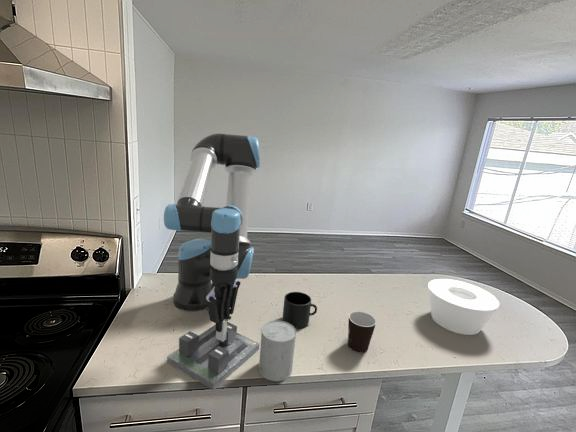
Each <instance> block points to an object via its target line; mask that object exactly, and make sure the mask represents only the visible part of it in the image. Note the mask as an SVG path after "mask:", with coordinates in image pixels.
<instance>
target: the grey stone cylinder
mask: <svg viewBox="0 0 576 432" xmlns="http://www.w3.org/2000/svg"><path fill="white" fill-rule="evenodd" d="M296 329H297V328H295V327H294V326H293V325H291V324H289V323H287V322H284V321H283V320H271V321H268V322H265V324H263V326H262V327H261V335H260V337H261V338H260V347H259V361H258V362H259V364H258V371H259V374H260V375H261V376H262V377H263V378H264V379H266V380H268V381H272V382H281V381H285V380H286V379H288V378H289V377H290V376H291V375H292V373H293V364H294V356H295V355H294V354H295V347H296V337H297V330H296Z"/></svg>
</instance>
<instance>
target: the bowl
mask: <svg viewBox="0 0 576 432" xmlns="http://www.w3.org/2000/svg"><path fill="white" fill-rule="evenodd" d="M427 286H428V296H429V305H430V307H429V308H430V315H431V318H432V320H433V322H435V323H436V324H438V325H439V326H440V327H441V328H444V329H445V330H448V331H450V332H452V333H455V334H460V335H466V336H471V335H474V336H475V335H478V334H479V333H480V332H481V330H482V329H483V328H484V327H485V325H486V324H487V323H488V322H489V320H490V319H491V317H492V316H493V315H494V314H495V312H496V310H497V309H498V308H499V306H500V301H499V300H498V299H497V298H496V296H495V295H494V294H492V293H490V292H489V291H487V290H485V289H484V288H481V287H480V286H477V285H475V284H471V283H468V282H466V281H462V280H457V279H451V278H436V279H432V280H430V281H428V284H427Z"/></svg>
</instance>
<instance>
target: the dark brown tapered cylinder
mask: <svg viewBox="0 0 576 432" xmlns="http://www.w3.org/2000/svg"><path fill="white" fill-rule="evenodd" d="M376 325H377V319H376V318H375V317H374V316H373V315H372V314H370V313H368V312H365V311H360V310H358V311H357V310H356V311H351V312H350V313H349V314H348V327H347V329H348V331H347V345H348V346H347V347H348V349H350V350H352V351H353V352H355V353H359V354H361V353H366V352H367V351H368V350H369V346H370V344H371V341H372V338H373V335H374V331H375V327H376Z"/></svg>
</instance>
